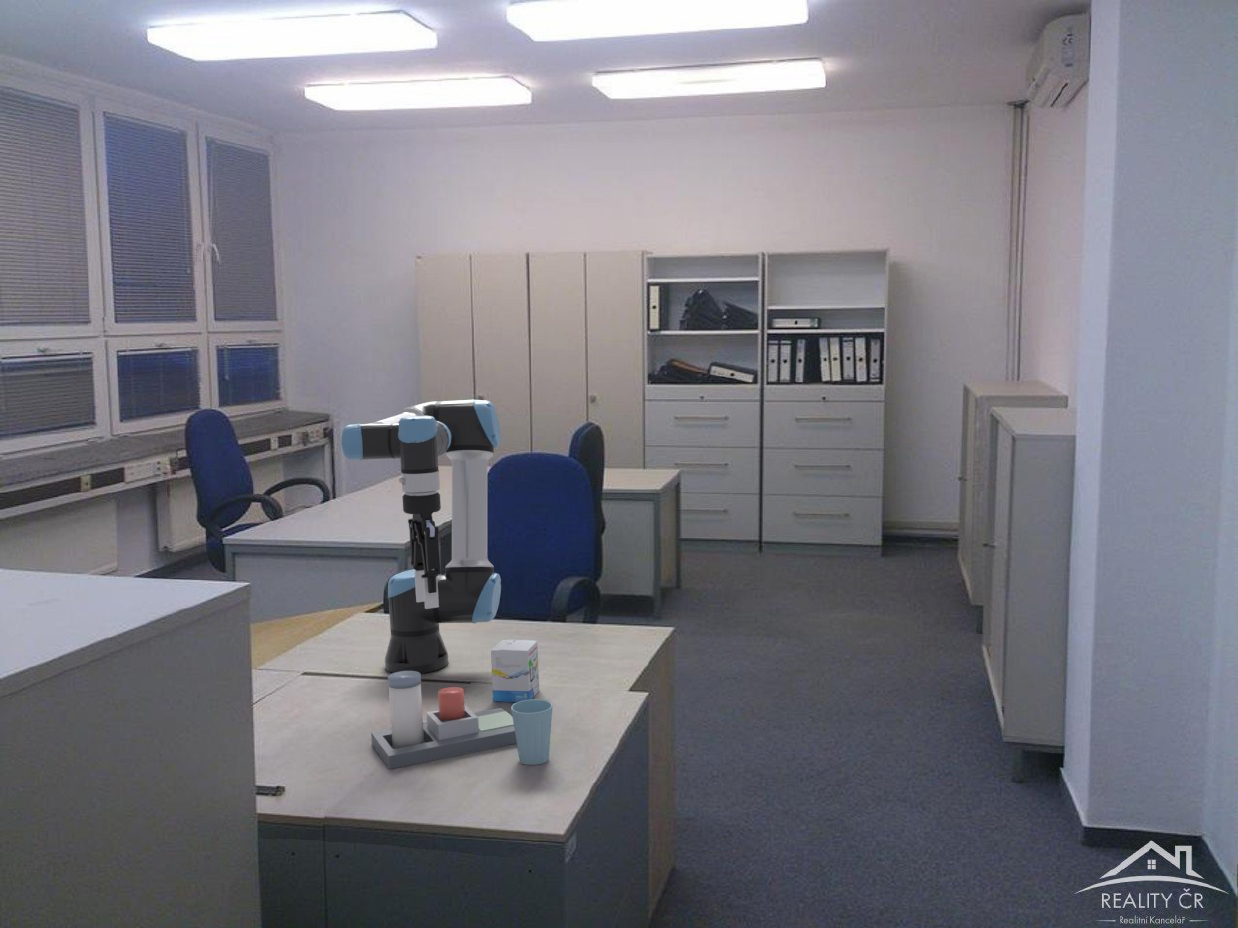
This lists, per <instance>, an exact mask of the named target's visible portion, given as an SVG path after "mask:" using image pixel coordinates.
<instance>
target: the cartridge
mask: <svg viewBox="0 0 1238 928" xmlns="http://www.w3.org/2000/svg"><path fill="white" fill-rule="evenodd" d="M421 674H422V673H419V672H416V671H400V672H396V673H390V674H389V675H388V676H387V685H388V694H389V695H388V697H389V711H390V725H391V728H390V729H392V745H393V746H392V749H397V748H402V747H407V746H412V745H417V744H422V743H425V742H424V731H423V723H424V720H423V719H424V717H423V702H422V701H423V700H422V684H421V683H422V675H421Z"/></svg>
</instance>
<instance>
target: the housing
mask: <svg viewBox="0 0 1238 928" xmlns="http://www.w3.org/2000/svg"><path fill="white" fill-rule="evenodd" d="M423 731H424V743H422V744H417V745H412V746H407V747H402V748H397V749H393V745H392V729H391V728H387V729H382V730H378V731H371V734H370V736H371V746H372V747H373V748H374V750H375V751H376V752H377V753H378V756H380V758H381V760H382V761H383V762H384V763H385V764H386V766H387V767H388V769H389V770H392V769H398V768H401V767H407V766H412V765H417V764H422V763H425V762H430V761H435V760H441V759H446V758H451V757H455V756H459V755H460V756H461V755H464V754H470V753H474V752H480V751H485V750H490V749H495V748H499V747H503V746H508V745H513V744H517V742H516V735H515V729H514V723H513V717H512V714H510V713H508V711H506V710H504V709H503V708H502V707H498V708H497V707H496V708H493V709H487V710H483V711H477V712H473V711H472V710H471V709H470V708H469V707H468V706H467V705H465V716H464V717H463V718H461V719H457V720H442V719H440V718H439V709H438V710H434V711H427V712H426V722H425V721H423Z"/></svg>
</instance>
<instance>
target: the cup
mask: <svg viewBox="0 0 1238 928" xmlns="http://www.w3.org/2000/svg"><path fill="white" fill-rule="evenodd" d="M510 709H511V716H512V717H513V723H514V729H515V735H516V742H517V743H516V746H517V753H518V758H519V759H518V760H519V762H520V763H521V764H524V765H526V766H527V765H528V766H537V765H542V764H545V763H546V762H548V761H549V759H550V747H551V732H552V731H551V730H552V716H553V703H552V702H550V701H549V700H545V699H539V698H538V699H536V698H535V699H534V698H532V699H531V700H524V701H520V702H514V703H513V704H512V705H511V707H510Z"/></svg>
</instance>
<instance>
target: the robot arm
mask: <svg viewBox="0 0 1238 928" xmlns="http://www.w3.org/2000/svg"><path fill="white" fill-rule="evenodd" d="M498 416H499V415H498V413H497V409H496V407H495V405H494V404H493V403H492V402H491V401H489V400H484V399H466V400H465V399H464V400H463V399H459V400H441V401H440V400H434V401H426V402H422V403H418V404H414V405H412V406H408V407H405V408H402V409H399V410H398V411H397V412H396V413H394V414H393V416H390V417H386V418H383V419H380V420H377V421H373V422H370V423H356V424H355V423H354V424H348V425H346V426H344V427H343V429H342V432H341V440H340V444H341V450H342V453H343V456H344V457H345V458H346V459H348V460H352V461H353V460H354V461H355V460H357V461H364V460H383V459H384V460H385V459H390V460H391V459H392V460H393V459H400V460H399V461H400V472H401V477H400V478H399V479H398V480H399V481H398V482H399V483H401V489H402V490H401V491H402V492H403V493H404V494H403V495H402V511H403V512H404V513H405V514H407V515H412V518H408V519H407V523H408V528H409V529H408V530H409V547H410V549H409V550H410V565H411V566H412V567H413V569H409V570H405V571H402V572H399V573H397V574H394V575H392V576H391V577H390V579H389V580H388V583H387V584H388V585H387V589H388V590H387V593H388V594H387V601H388V612H389V625H390V626H389V627H390V637H389V642H388V646H387V650H386V653H385V657H384V667H385V670H386V671H388V672H390V673H391V674H393V673H396V672H400V671H416V672H419V673H420V674H425V673H431V672H435V671H438V670H441V669H442V668H445V667H446V666H448V664H449V654H448V650H447V648H446V645H445V643H444V640H443V638H442V635H441V632H440V624H476V623H488V622H491V621H492V620H493V619H494V618H495V617H496V615H497V611H498V608H499V605H500V598H501V591H502V583H501V581H502V579H501V575H500V574H499V573H496V572H495V571H494V569H495V568H494V565H493V564H492V563H491V562H490V561H489V558H488V462H489V460H490V459H491V458H492V457H493V456H494V452H495V451H494V448H498V447H500V446H501V439H502V437H501V436H502V435H501V429H500V422H499V417H498ZM444 453H445V456H447V458H449V460H450V461H451V560H450V561H449V562H448V563H447V564H446V565H445V568H444V569H445V573H444V574H442V573H441V562H440V547H439V545H440V544H439V527H438V525H436V523H435V521H434V520H433V514H434V513H438V512H439V511H440V510H441V508H442V507H441V506H442V505H441V493H439V490H440V489H441V485H440V484H441V483H440V470H439V456H442V455H444Z"/></svg>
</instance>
